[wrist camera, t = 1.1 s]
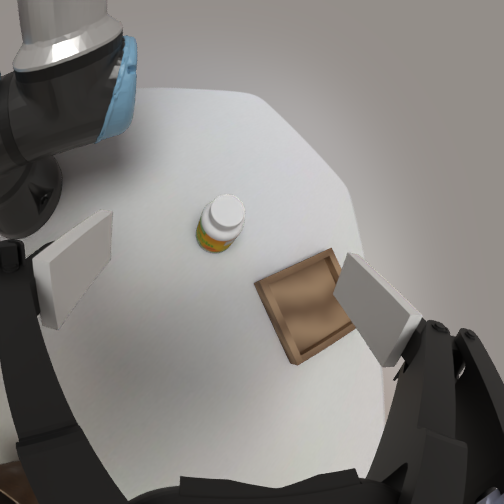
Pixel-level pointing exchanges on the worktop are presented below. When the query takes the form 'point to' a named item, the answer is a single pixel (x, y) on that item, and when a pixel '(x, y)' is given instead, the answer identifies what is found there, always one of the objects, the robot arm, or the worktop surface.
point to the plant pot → (15, 485)
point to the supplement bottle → (220, 223)
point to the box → (305, 306)
